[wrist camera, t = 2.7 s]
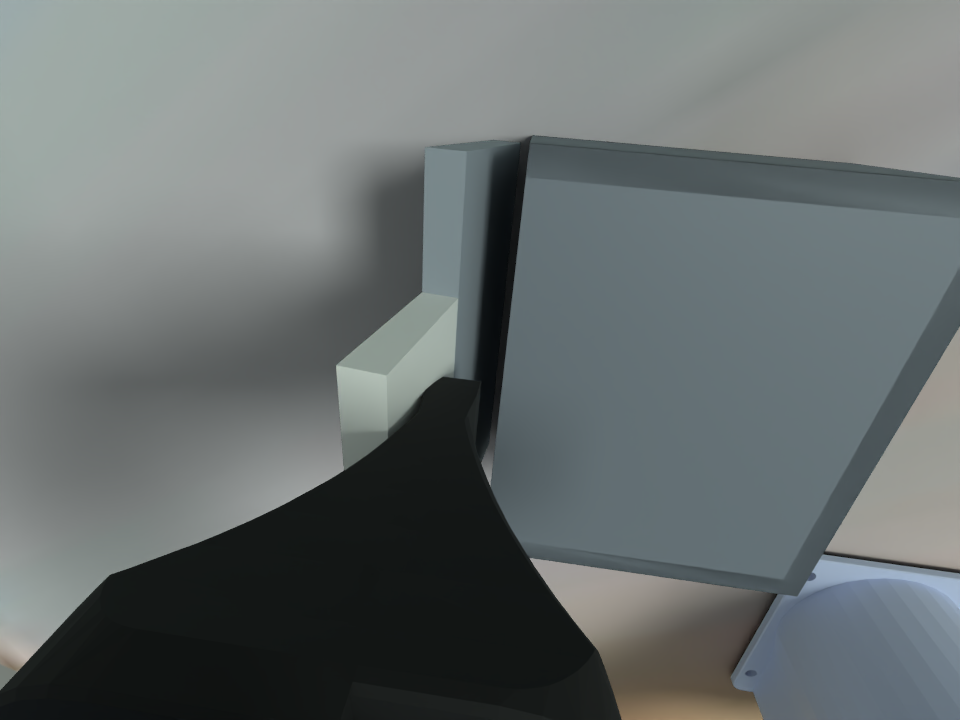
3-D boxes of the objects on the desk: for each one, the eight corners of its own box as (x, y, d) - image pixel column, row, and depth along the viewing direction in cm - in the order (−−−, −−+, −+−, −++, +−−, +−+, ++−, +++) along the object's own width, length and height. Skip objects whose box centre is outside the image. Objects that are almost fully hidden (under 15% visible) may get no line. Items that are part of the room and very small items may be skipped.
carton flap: (488, 443, 18) (392, 682, 10) (468, 438, 18) (359, 671, 10) (520, 142, 13) (381, 164, 5) (493, 140, 13) (319, 158, 6)
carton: (727, 468, 18) (797, 596, 13) (497, 439, 19) (483, 551, 14) (854, 163, 13) (1041, 189, 8) (532, 135, 14) (529, 143, 9)
